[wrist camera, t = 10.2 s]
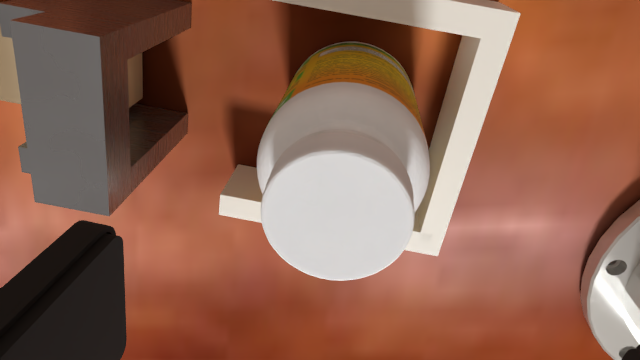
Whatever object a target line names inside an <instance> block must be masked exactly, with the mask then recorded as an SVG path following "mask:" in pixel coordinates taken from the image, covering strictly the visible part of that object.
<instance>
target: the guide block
mask: <svg viewBox="0 0 640 360" xmlns="http://www.w3.org/2000/svg"><path fill="white" fill-rule="evenodd" d="M0 27H1V34H2V36H3V37H8V38H12V41H13V48H14V55H15V63H16V70H17V77H18V84H19V91H20V98H21V106H22V113H23V120H24V127H25V134H26V142H25V143H24V144H22V145H20V146H19V147H18V148H19V155H20V161H21V168H22V172H25V173H30V174H31V177H32V185H33V192H34V199H35V202H38V203H43V204H48V205H54V206H59V207H64V208H69V209H75V210H80V211H85V212H90V213H95V214H101V215H106V216H110V215H111V214H112V213H113V212H114V211H115V210H116V209H117V208H118V207H119V205H120V204H121V203H122V202H123V201H124V200H125V199H126V198H127V197H128V196H129V195H130V194H131V193H132V192H133V191H134V189H135V188H136V187H137V186H138V185H139V184H140V183H141V182H142V181H143V180H144V179H145V178H146V177H147V176H148V175H149V173H150V172H151V171H152V170H153V169H154V168H155V167H156V166H157V165H158V164H159V163H160V162H161V161H162V160H163V159H164V157H165V156H166V155H167V154H168V153H169V152H170V151H171V150H172V149H173V148H174V147H175V146H176V145H177V144H178V143H179V142H180V140H181V139H182V138H183V137H184V136H185V135H186V134H187V127H188V113H185V112H180V111H175V110H169V109H164V108H159V107H153V106H148V105H143V104H137V103H135V104H134V105H132V106H131V107H129V94H128V59H130V58H132V57H134V56H136V55H138V54H140V53H142V52H144V51H146V50H148V49H150V48H152V47H154V46H156V45H158V44H160V43H162V42H164V41H166V40H167V39H169V38H171V37H173V36H175V35H177V34H179V33H181V32H183V31H185V30H187V29H189V28H191V3H190V2H185V1H179V0H10V1H4V2H0Z"/></svg>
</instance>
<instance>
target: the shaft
mask: <svg viewBox="0 0 640 360" xmlns="http://www.w3.org/2000/svg"><path fill="white" fill-rule="evenodd" d="M128 94H129V107H131V106H132V105H134V104H135V103H136V102H138V101H139V100H141V99H142V98H143V67H142V53H140V54H138V55H136V56H134V57H132V58H130V59H128ZM0 100H2V101H7V102H12V103H18V104H21V98H20V91H19V84H18V77H17V70H16V63H15V55H14V48H13V41H12V38H8V37H3V36H2V34H1V27H0Z"/></svg>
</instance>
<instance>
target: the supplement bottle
mask: <svg viewBox="0 0 640 360" xmlns="http://www.w3.org/2000/svg"><path fill="white" fill-rule="evenodd" d="M257 176H258V182H259V185H260V189H261V192H262V194H263V196H262V201H261V221H262V226H263V229H264V232H265V234H266V237H267V239H268V241H269V242H270V244H271V246H272V247H273V248H274V250H275V251H276V252H277V253H278V254H279V255H280V256H281V257H282V258H283V259H284V260H285V261H286V262H287V263H289V264H290V265H292V266H293V267H295V268H297V269H298V270H300V271H302V272H304V273H306V274H308V275H311V276H315V277H318V278H322V279H328V280H339V281H343V280H354V279H359V278H363V277H367V276H370V275H373V274H375V273H377V272H379V271H381V270H383V269H384V268H386V267H387V266H389V265H390V264H391V263H393V262H394V261H395V260H396V259H397V258H398V257H399V256H400V254H401V253H402V252H403V251H404V249H405V248H406V246H407V244H408V242H409V240H410V238H411V235H412V232H413V228H414V221H415V212H416V210H417V209H418V207H419V205H420V203H421V201H422V199H423V197H424V195H425V192H426V190H427V186H428V182H429V176H430V159H429V150H428V145H427V140H426V136H425V133H424V129H423V126H422V122H421V118H420V114H419V111H418V107H417V103H416V98H415V94H414V91H413V87H412V84H411V82H410V79H409V77H408V75H407V73H406V72H405V70H404V68H403V67H402V66H401V64H400V63H399V62H398V61H397V60H396V59H395V58H394V57H393V56H392V55H390V54H389V53H387V52H386V51H384V50H383V49H381V48H378V47H376V46H374V45H371V44H367V43H363V42H355V41H349V42H340V43H335V44H332V45H329V46H326V47H324V48H322V49H320V50H318V51H317V52H315V53H314V54H312V55H311V56H310V57H309V58H308V59H307V60H306V61H305V62H304V63H303V64H302V65H301V67H300V68H299V69H298V71H297V72H296V74H295V75H294V77H293V79H292V81H291V83H290V85H289V87H288V89H287V91H286V92H285V94H284V96H283V98H282V100H281V102H280V104H279V105H278V107H277V109H276V111H275V112H274V114H273V116H272V118H271V119H270V121H269V123H268V125H267V127H266V129H265V131H264V134H263V136H262V138H261V141H260V145H259V149H258V154H257Z"/></svg>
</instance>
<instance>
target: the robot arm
mask: <svg viewBox="0 0 640 360" xmlns="http://www.w3.org/2000/svg"><path fill="white" fill-rule="evenodd" d="M580 298H581V304H582V309H583V314H584V317H585V319H586V321H587V323H588V325H589V327H590V329H591V331H592V333H593V335H594V336H595V338H596V339H597V341H598V342H599V344H600V345H601V347H602V348H603V350H604V351H605V352H606V353H608V354H609V355H610V356H611V357H612V358H613V359H614V360H640V200H639V201H638V202H636V203H635V204H634V205H633V206H632V207H630V208H629V209H628V210H627V211H625V212H624V213H623V214H622V215H621V216H619V217H618V218H617V219H616V221H615V222H614V223H613V224H612V225H611V226H610V227H609V229H608V230H607V231H606V232H605V233H604V234H603V235H602V237H601V238H600V240H599V241H598V243H597V245H596V246H595V248H594V250H593V251H592V253H591V255H590V256H589V258H588V261H587V264H586V267H585V270H584V273H583V276H582V283H581V295H580ZM125 346H126V314H125V284H124V255H123V240H122V238H121V237H120V236H116V233H115V230H114V228H113V227H111V226H107V225H102V224H98V223H93V222H89V221H84V220H82V221H78V222H77V223H75V224H74V225H73V226H72V227H70V228H69V229H68V230H67V231H66V232H65V233H64V234H62V235H61V236H60V237H59V238H58V239H57V240H56V241H54V242H53V243H52V244H51V245H50V246H49V247H48V248H46V249H45V250H44V251H43V252H42V253H41V254H40V255H38V256H37V257H36V258H35V259H34V260H33V261H32V262H30V263H29V264H28V265H27V266H26V267H25V268H24V269H22V270H21V271H20V272H19V273H18V274H17V275H16V276H14V277H13V278H12V279H11V280H10V281H9V282H8V283H6V284H5V285H4V286H3V287H2V288H0V360H120V359H121V357H122V355H123V353H124V350H125Z"/></svg>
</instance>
